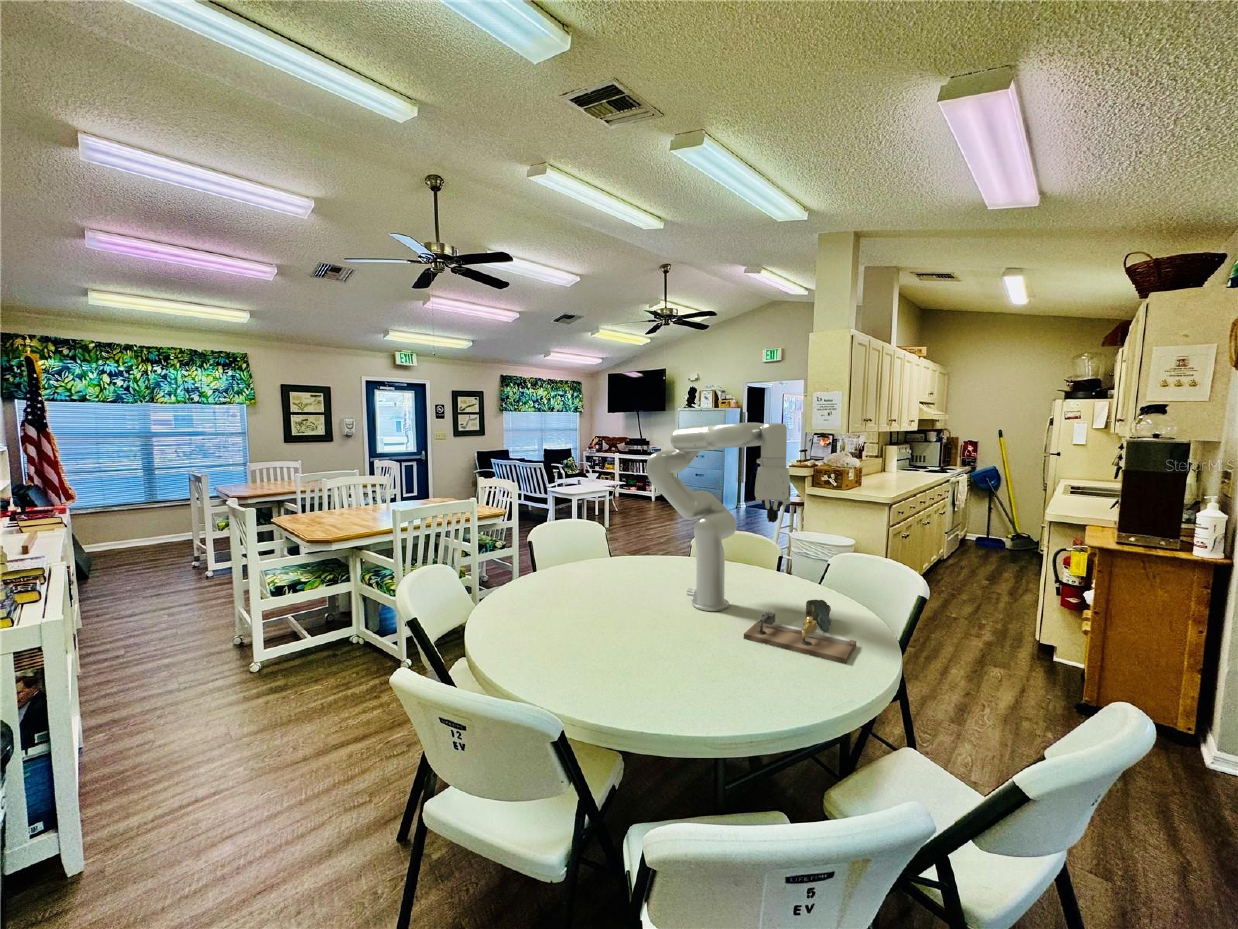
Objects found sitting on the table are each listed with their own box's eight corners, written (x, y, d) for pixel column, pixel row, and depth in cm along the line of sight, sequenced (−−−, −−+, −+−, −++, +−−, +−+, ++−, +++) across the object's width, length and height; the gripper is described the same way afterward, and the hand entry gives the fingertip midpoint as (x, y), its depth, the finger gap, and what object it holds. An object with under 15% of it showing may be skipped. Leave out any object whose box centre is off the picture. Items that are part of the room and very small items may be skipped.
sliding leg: (797, 639, 145) (797, 623, 144) (805, 630, 151) (806, 614, 151) (808, 642, 143) (808, 626, 142) (816, 632, 149) (816, 617, 149)
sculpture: (836, 633, 154) (837, 610, 153) (814, 632, 155) (814, 610, 154) (825, 617, 167) (825, 596, 166) (804, 616, 168) (804, 595, 167)
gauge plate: (743, 638, 151) (743, 621, 150) (759, 624, 161) (759, 607, 161) (845, 664, 134) (846, 644, 134) (856, 646, 145) (856, 628, 145)
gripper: (745, 463, 161) (745, 521, 162) (794, 465, 152) (792, 526, 154) (754, 461, 167) (753, 517, 168) (801, 463, 158) (800, 522, 160)
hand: (772, 521), depth 161 cm, fingers closed
